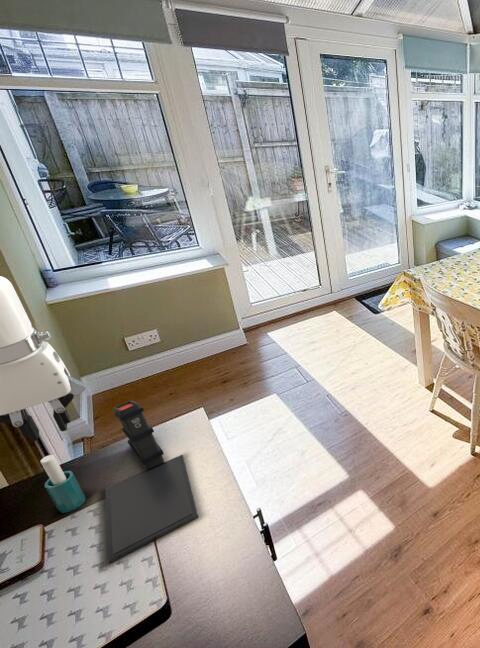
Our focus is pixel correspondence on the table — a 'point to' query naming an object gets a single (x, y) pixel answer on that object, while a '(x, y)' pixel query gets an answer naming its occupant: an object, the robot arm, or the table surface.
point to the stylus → (53, 470)
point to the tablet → (148, 507)
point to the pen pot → (66, 493)
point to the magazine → (139, 434)
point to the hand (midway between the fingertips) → (50, 431)
